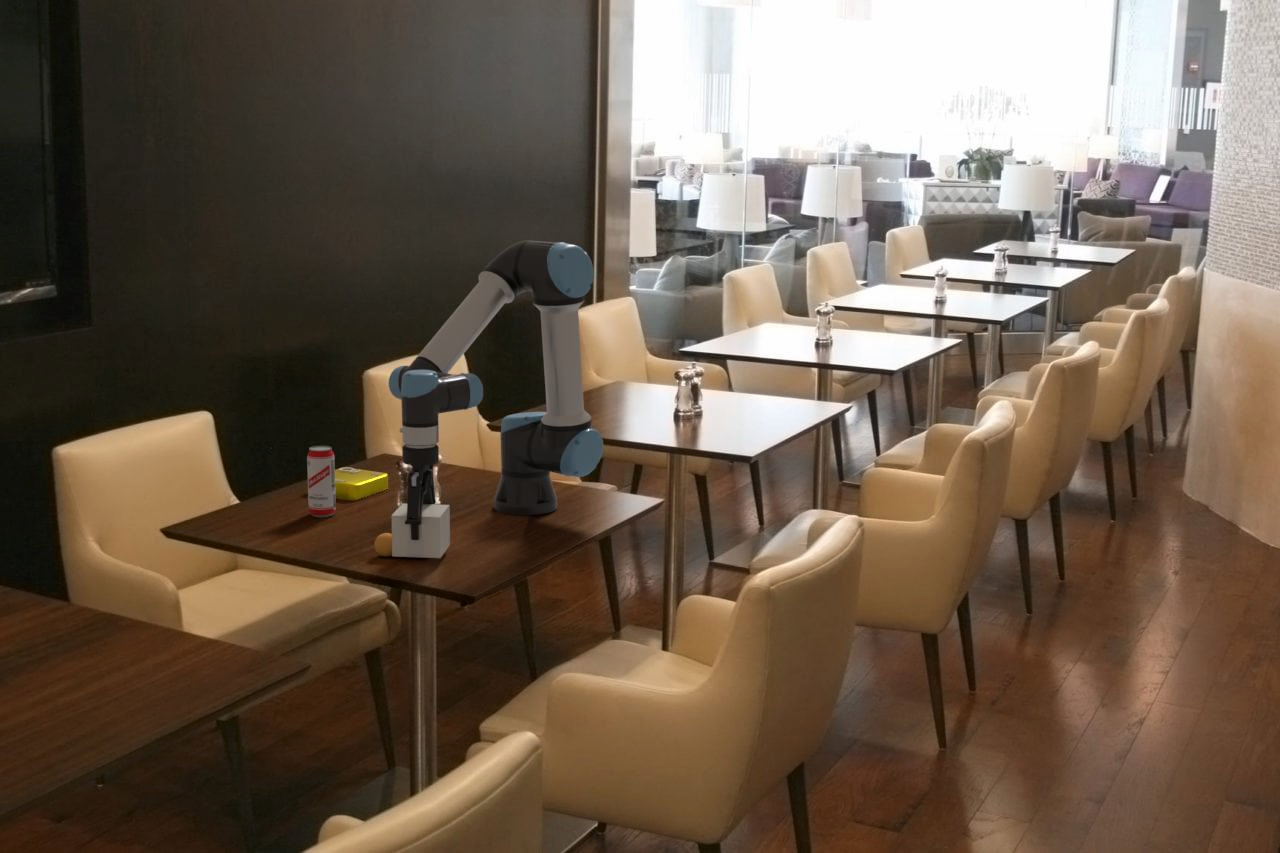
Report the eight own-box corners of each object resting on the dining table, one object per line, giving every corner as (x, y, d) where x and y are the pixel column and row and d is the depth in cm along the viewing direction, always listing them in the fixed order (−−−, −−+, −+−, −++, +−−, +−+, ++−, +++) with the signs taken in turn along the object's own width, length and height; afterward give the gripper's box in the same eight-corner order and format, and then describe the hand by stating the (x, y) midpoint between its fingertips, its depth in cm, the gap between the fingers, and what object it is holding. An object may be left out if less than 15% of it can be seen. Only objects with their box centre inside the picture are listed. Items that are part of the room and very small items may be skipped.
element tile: (305, 495, 370) (305, 476, 369) (343, 482, 383) (343, 464, 382) (354, 503, 363) (354, 483, 362) (391, 490, 377) (391, 471, 376)
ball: (403, 550, 320) (397, 528, 319) (397, 557, 316) (391, 534, 315) (381, 554, 321) (375, 532, 320) (375, 561, 316) (369, 539, 315)
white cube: (450, 544, 322) (449, 504, 320) (440, 558, 312) (440, 517, 310) (403, 542, 323) (402, 503, 321) (392, 556, 313) (391, 515, 311)
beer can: (332, 518, 347) (330, 451, 344) (305, 517, 347) (303, 450, 344) (338, 511, 353) (336, 445, 350) (312, 511, 354) (310, 444, 350)
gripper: (414, 432, 324) (415, 531, 328) (390, 455, 302) (391, 561, 306) (448, 433, 324) (449, 532, 328) (426, 456, 301) (428, 562, 306)
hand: (421, 546), depth 317 cm, fingers closed on white cube, 10 cm apart
